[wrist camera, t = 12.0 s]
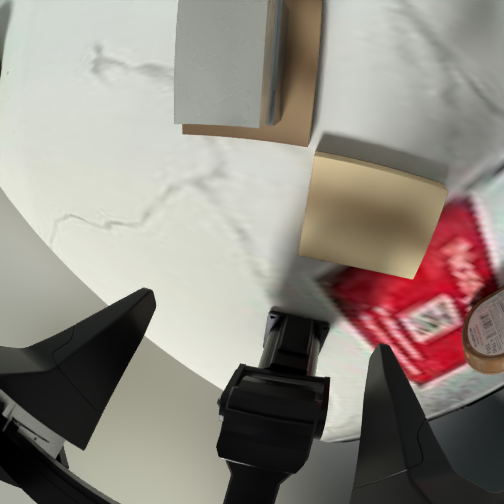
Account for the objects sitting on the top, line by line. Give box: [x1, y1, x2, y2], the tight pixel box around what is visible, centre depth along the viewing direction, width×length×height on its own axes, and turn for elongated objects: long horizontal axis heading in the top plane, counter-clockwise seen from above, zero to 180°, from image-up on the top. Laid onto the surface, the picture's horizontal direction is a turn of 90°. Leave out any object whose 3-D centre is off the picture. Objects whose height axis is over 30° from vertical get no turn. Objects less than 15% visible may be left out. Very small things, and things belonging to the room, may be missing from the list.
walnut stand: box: [182, 0, 323, 147], centre depth 15 cm, size 11×9×2 cm
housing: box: [174, 0, 289, 128], centre depth 12 cm, size 5×8×5 cm, turn 177°
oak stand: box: [298, 151, 448, 279], centre depth 19 cm, size 8×10×2 cm
